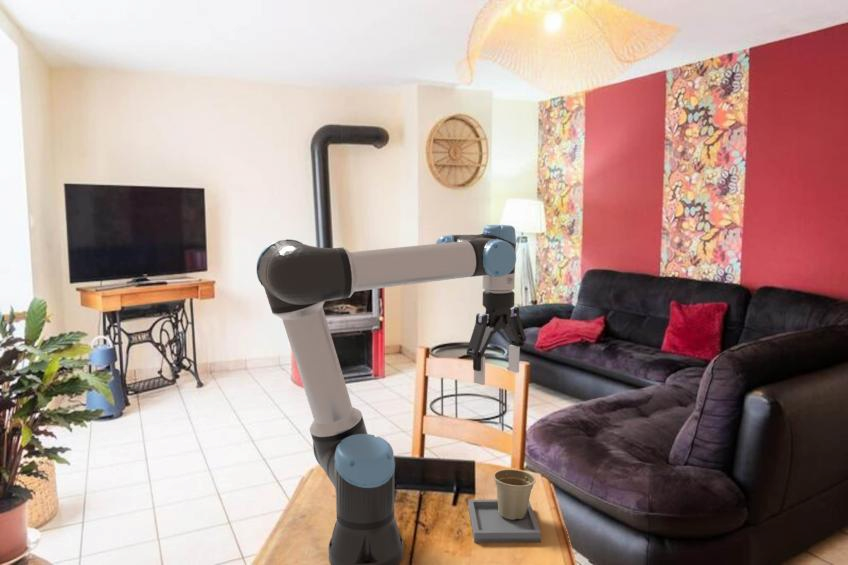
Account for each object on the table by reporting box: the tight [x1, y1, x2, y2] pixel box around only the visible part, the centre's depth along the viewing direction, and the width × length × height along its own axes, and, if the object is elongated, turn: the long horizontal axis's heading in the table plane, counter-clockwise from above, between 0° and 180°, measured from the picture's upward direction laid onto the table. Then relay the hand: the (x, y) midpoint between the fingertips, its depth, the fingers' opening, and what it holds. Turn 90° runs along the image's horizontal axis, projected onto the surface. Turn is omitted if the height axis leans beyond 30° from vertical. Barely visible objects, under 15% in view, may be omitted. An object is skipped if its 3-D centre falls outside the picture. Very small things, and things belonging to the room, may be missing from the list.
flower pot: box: [493, 468, 537, 520], centre depth 137 cm, size 9×9×9 cm
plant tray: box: [468, 498, 542, 544], centre depth 135 cm, size 14×14×2 cm
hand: (497, 377), depth 147 cm, fingers open, 13 cm apart
